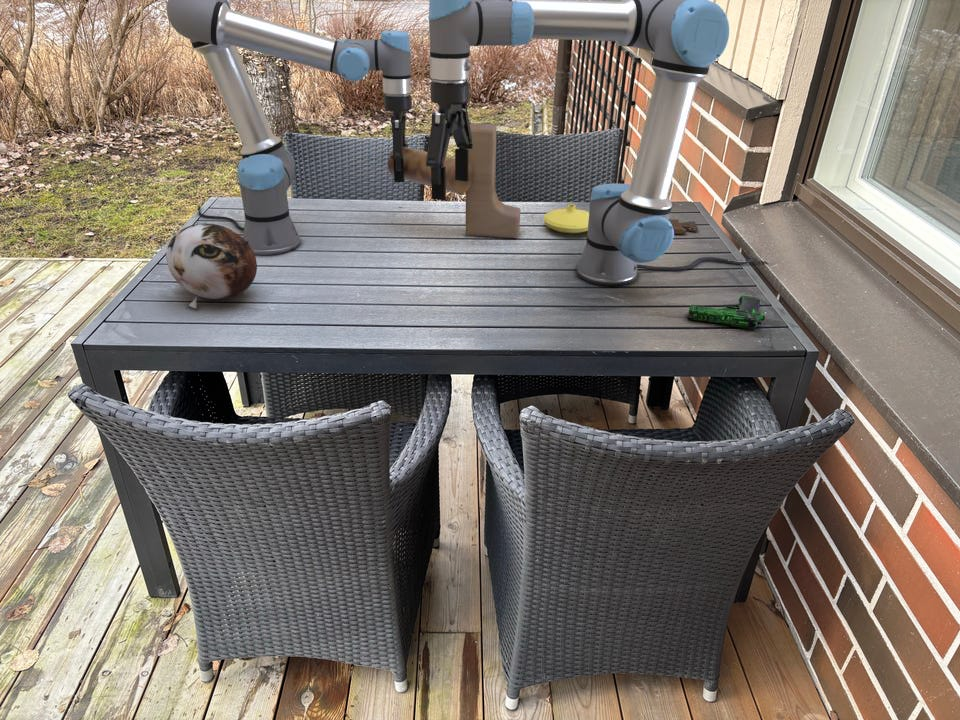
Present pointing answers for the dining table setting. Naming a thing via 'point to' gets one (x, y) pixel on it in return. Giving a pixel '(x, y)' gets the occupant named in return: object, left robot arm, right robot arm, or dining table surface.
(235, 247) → the cat face balloon
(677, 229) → the brown jagged flat piece
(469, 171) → the rod
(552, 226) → the yellow lid
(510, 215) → the decorative block
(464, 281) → the dining table surface
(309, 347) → the dining table surface
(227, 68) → the left robot arm
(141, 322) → the dining table surface
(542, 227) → the dining table surface
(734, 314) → the handgun
